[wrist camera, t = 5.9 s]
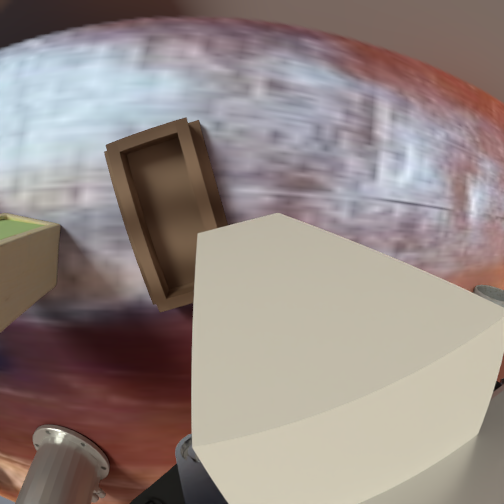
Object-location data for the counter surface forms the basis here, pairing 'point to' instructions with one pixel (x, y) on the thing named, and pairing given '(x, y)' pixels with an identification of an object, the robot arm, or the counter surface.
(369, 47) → the counter surface
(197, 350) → the rectangular block
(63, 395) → the counter surface
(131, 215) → the brown wooden tray
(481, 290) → the ceramic mug
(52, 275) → the toy refrigerator
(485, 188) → the counter surface
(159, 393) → the counter surface
